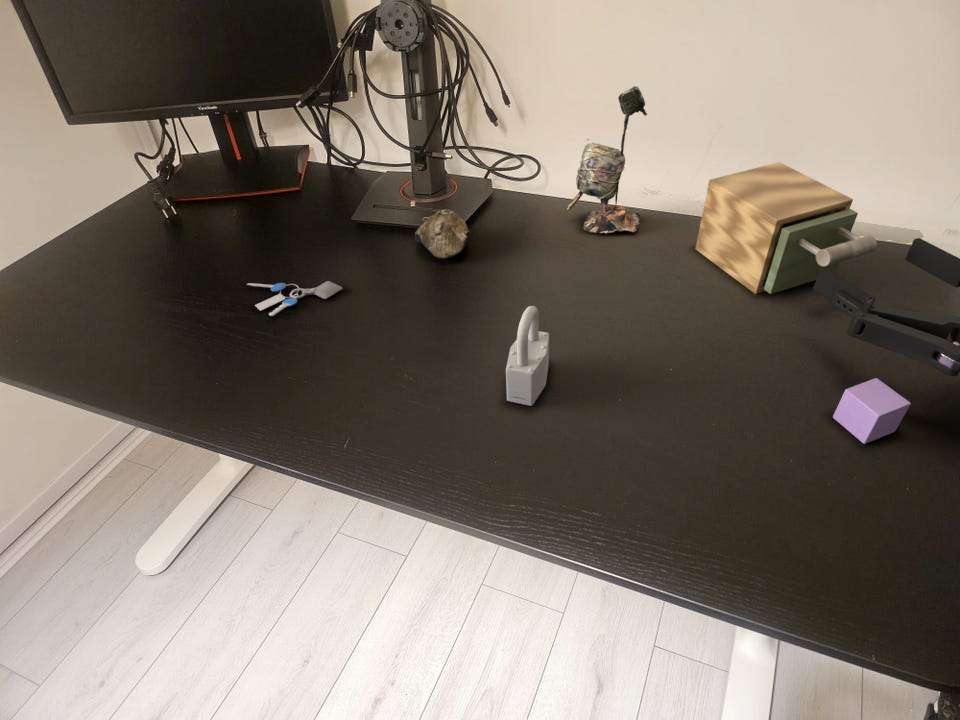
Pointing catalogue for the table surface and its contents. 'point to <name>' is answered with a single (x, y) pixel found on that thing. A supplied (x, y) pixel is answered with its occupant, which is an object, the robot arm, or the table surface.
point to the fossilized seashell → (443, 234)
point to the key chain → (321, 291)
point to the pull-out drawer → (813, 248)
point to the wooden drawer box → (758, 217)
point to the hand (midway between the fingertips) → (866, 263)
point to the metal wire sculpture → (608, 175)
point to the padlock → (527, 360)
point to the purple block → (871, 410)
